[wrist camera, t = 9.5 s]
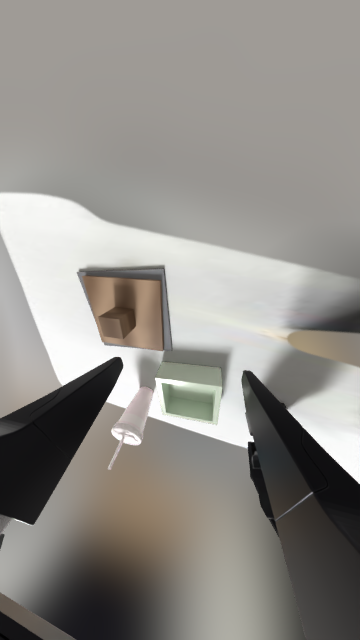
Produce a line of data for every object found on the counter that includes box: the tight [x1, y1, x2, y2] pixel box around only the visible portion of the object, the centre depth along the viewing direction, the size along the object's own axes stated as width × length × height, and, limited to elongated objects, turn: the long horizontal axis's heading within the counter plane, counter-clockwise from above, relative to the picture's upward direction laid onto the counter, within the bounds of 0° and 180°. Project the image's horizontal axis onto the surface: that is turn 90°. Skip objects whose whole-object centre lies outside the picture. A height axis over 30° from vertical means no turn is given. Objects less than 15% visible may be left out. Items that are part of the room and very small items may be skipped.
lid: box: [82, 275, 164, 351], centre depth 21 cm, size 13×13×5 cm
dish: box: [155, 362, 222, 425], centre depth 28 cm, size 12×12×4 cm
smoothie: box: [108, 386, 153, 470], centre depth 28 cm, size 6×6×14 cm
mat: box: [77, 269, 172, 351], centre depth 24 cm, size 15×15×1 cm
